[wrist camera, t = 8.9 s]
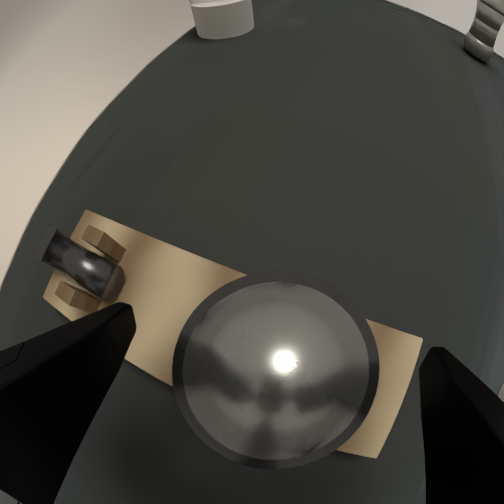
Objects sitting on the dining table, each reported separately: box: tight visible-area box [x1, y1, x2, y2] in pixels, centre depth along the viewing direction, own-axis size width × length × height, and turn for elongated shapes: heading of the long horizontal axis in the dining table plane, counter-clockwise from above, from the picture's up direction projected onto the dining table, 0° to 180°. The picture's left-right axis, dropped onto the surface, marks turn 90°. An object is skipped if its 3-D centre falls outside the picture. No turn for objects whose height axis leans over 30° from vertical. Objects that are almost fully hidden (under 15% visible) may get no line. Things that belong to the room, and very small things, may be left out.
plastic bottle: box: [464, 0, 504, 62], centre depth 22 cm, size 6×7×20 cm
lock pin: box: [35, 226, 124, 301], centre depth 17 cm, size 7×2×2 cm, turn 67°
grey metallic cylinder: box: [172, 271, 380, 469], centre depth 12 cm, size 5×5×12 cm
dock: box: [43, 210, 423, 458], centre depth 16 cm, size 26×8×6 cm, turn 67°
